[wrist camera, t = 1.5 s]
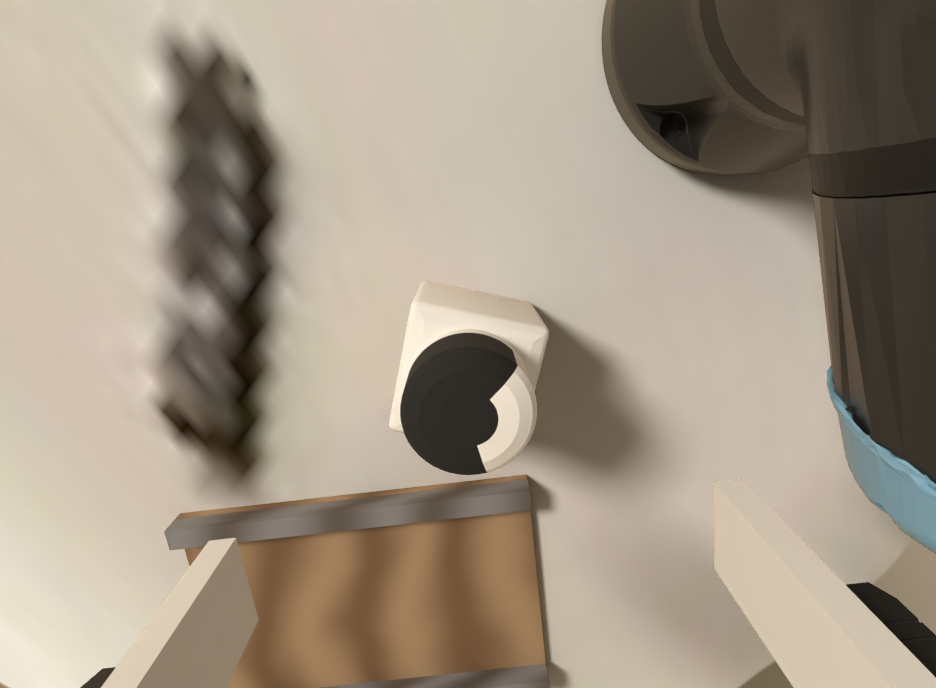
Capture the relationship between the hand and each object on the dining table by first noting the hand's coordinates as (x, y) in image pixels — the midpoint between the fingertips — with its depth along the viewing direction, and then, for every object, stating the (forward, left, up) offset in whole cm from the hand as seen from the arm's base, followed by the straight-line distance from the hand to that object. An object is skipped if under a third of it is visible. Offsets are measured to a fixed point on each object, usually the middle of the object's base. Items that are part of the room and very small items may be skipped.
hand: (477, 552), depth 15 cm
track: (+9, +18, -21) cm, 29 cm away
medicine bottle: (0, 0, -21) cm, 21 cm away
